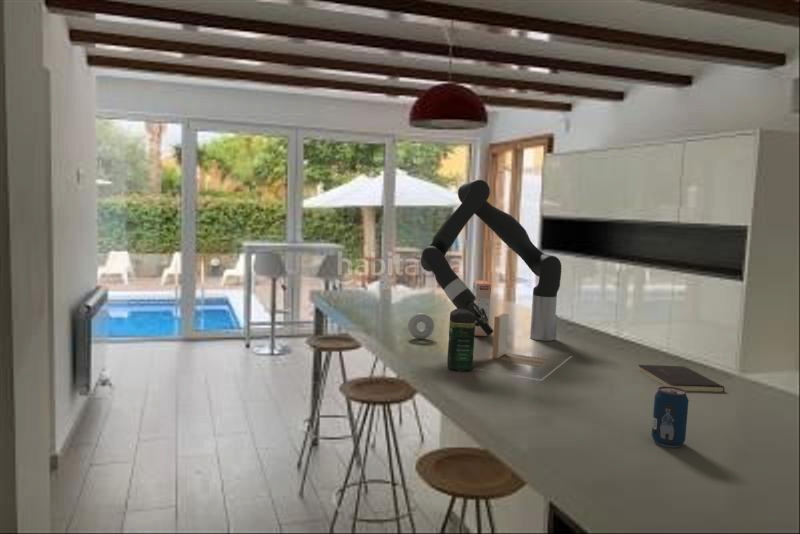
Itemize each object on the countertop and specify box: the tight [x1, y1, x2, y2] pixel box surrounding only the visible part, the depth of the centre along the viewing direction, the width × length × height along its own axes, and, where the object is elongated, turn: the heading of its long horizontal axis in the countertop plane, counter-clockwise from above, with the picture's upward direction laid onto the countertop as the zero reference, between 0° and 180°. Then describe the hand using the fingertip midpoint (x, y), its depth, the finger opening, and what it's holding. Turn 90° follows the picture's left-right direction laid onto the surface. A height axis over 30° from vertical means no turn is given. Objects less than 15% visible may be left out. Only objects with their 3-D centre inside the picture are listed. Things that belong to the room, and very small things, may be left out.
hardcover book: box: [638, 364, 725, 393], centre depth 197 cm, size 16×23×2 cm
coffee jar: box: [446, 308, 476, 372], centre depth 200 cm, size 10×8×19 cm
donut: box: [407, 312, 435, 340], centre depth 242 cm, size 10×4×10 cm, turn 95°
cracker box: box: [472, 279, 492, 337], centre depth 257 cm, size 14×6×21 cm, turn 179°
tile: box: [491, 312, 510, 359], centre depth 216 cm, size 2×9×14 cm, turn 152°
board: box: [485, 352, 549, 367], centre depth 214 cm, size 12×18×1 cm, turn 62°
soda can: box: [651, 386, 689, 448], centre depth 142 cm, size 7×7×12 cm
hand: (491, 333), depth 218 cm, fingers closed
